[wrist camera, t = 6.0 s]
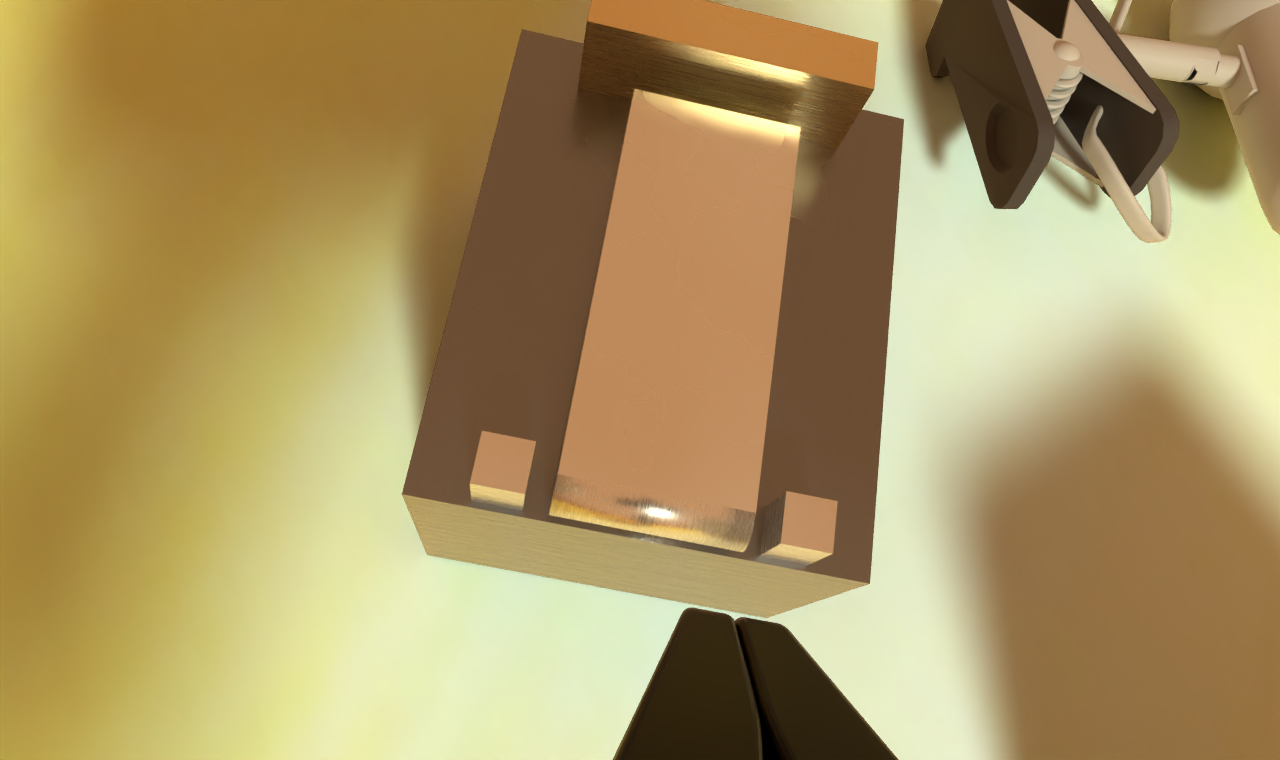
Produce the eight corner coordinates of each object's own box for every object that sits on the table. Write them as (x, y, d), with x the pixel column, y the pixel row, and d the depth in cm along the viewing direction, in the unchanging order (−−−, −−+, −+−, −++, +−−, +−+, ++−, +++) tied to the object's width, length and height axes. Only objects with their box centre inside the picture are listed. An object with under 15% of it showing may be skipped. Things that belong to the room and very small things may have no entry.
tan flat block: (734, 557, 15) (752, 546, 14) (547, 521, 14) (551, 506, 13) (784, 159, 17) (800, 127, 16) (626, 123, 17) (634, 88, 16)
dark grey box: (766, 617, 21) (917, 568, 13) (427, 554, 20) (390, 466, 13) (806, 258, 24) (946, 58, 16) (514, 194, 23) (525, -43, 16)
